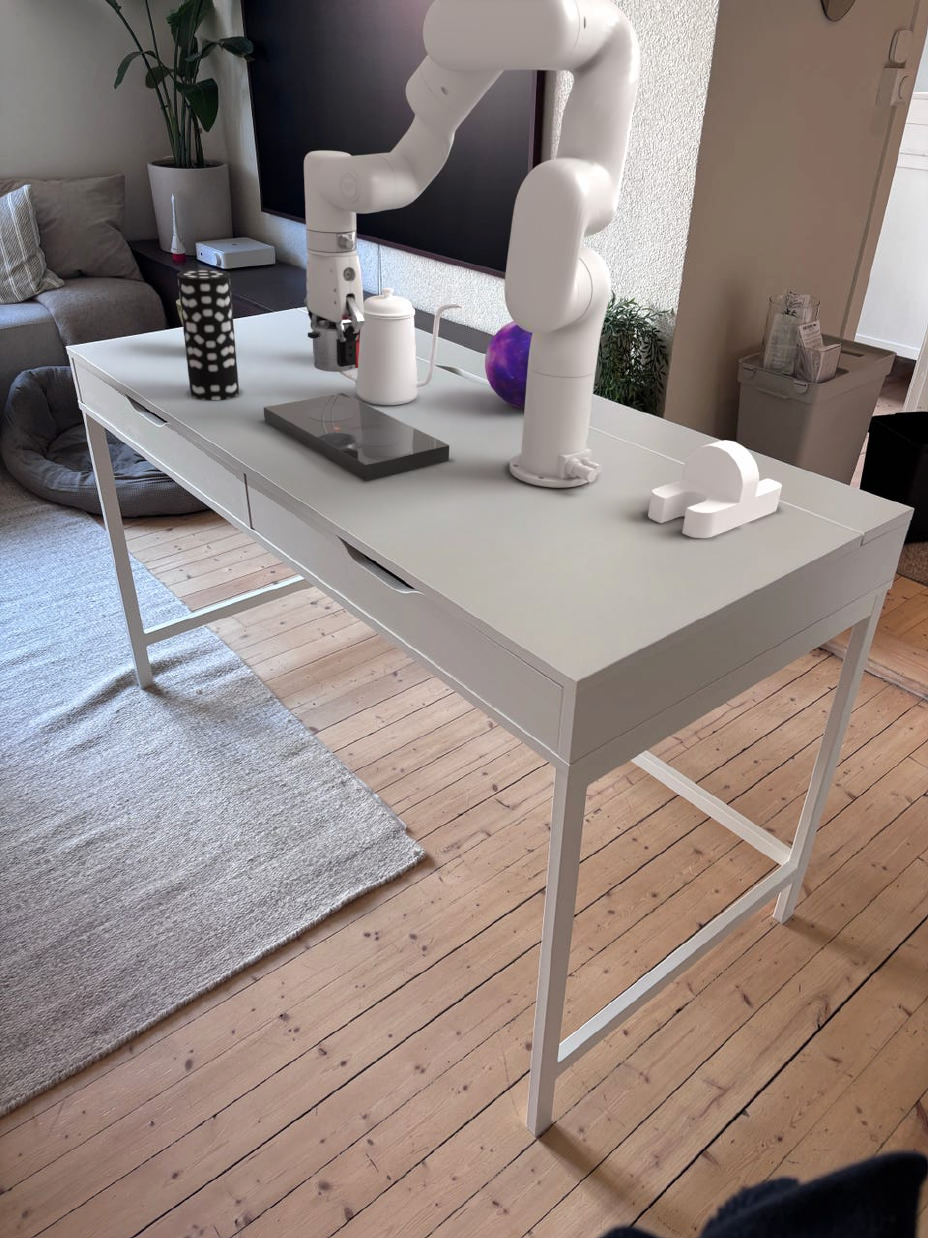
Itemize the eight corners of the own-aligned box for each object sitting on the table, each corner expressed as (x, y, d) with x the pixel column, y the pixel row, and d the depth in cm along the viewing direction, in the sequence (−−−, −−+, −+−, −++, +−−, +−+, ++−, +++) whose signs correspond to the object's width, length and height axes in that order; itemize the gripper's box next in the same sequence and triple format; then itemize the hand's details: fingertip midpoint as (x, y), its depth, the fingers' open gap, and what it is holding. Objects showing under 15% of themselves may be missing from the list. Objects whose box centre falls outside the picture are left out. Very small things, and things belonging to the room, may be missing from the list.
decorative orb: (494, 388, 174) (499, 305, 166) (574, 398, 171) (582, 314, 163) (473, 412, 161) (477, 323, 154) (558, 423, 158) (566, 333, 150)
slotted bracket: (700, 541, 120) (714, 469, 115) (643, 515, 127) (654, 446, 122) (780, 509, 131) (796, 442, 126) (724, 486, 137) (737, 422, 132)
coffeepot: (456, 412, 161) (461, 299, 151) (314, 401, 163) (309, 289, 153) (462, 393, 170) (467, 286, 161) (327, 383, 172) (324, 276, 162)
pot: (368, 367, 152) (368, 321, 148) (321, 375, 147) (320, 328, 143) (346, 357, 156) (346, 313, 152) (300, 364, 151) (298, 319, 147)
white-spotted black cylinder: (191, 401, 160) (177, 279, 150) (189, 386, 167) (176, 269, 157) (240, 399, 162) (230, 278, 152) (237, 384, 169) (227, 268, 159)
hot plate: (449, 460, 141) (449, 444, 140) (366, 481, 133) (365, 464, 132) (342, 406, 161) (342, 392, 160) (264, 421, 153) (263, 406, 151)
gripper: (384, 249, 138) (384, 369, 147) (323, 231, 149) (326, 344, 159) (341, 253, 134) (343, 376, 143) (281, 234, 145) (287, 350, 154)
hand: (334, 358), depth 151 cm, fingers closed on pot, 6 cm apart
